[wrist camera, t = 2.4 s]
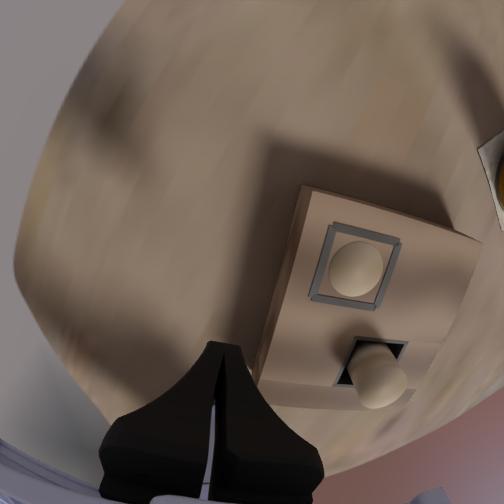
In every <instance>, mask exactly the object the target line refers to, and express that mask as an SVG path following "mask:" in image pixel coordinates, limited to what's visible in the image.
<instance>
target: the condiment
mask: <svg viewBox="0 0 504 504" xmlns="http://www.w3.org/2000/svg"><path fill="white" fill-rule="evenodd" d="M478 151H479V154H480V156H481V159H482V162H483V165H484V168H485V170H486V174H487V177H488V180H489V184H490V187H491V191H492V195H493V199H494V203H495V206H496V210H497V215H498V218H499V223H500V226H501V230H502V232H503V231H504V130H503V131H502V132H501V133H500V134H498V135H497V136H495V137H494V138H493V139H492V140H490V141H489V142H487V143H486V144H485V145H484V146H482V147H481V148H479V149H478ZM497 158H498V162H497ZM496 164H498V165H497V166H496Z"/></svg>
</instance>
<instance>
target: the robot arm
mask: <svg viewBox="0 0 504 504" xmlns="http://www.w3.org/2000/svg"><path fill="white" fill-rule="evenodd" d="M214 399H215V405H213V403H214ZM99 457H100V461H101V464H102V467H103V470H104V473H105V474H104V476H103V479H102V482H101V485H100V486H97V485H94V484H91V483H89V482H86V481H84V480H81V479H79V478H76V477H74V476H71V475H69V474H67V473H65V472H62V471H60V470H57V469H56V468H53V467H51V466H49V465H47V464H45V463H43V462H41V461H39V460H37V459H35V458H33V457H31V456H29V455H28V454H26V453H24V452H22V451H20V450H18V449H17V448H15V447H13V446H12V445H10V444H8V443H6V442H5V441H3V440H2V439H0V504H312V502H313V498H312V492H313V491H314V490H315V489H316V488H317V486H318V485H319V484H320V483H321V481H322V479H323V478H324V468H323V464H322V461H321V458H320V455H319V453H318V450H317V448H315V447H314V446H313V445H311V444H310V443H308V442H307V441H305V440H304V439H303V438H301V437H300V436H299V435H297V434H296V433H295V432H294V431H293V430H292V429H290V428H289V427H288V426H287V425H286V424H285V423H284V422H283V421H282V420H281V419H280V418H279V417H278V416H277V414H276V413H275V412H274V411H273V410H272V408H271V407H270V406H269V404H268V403H267V402H266V400H265V399H264V397H263V396H262V394H261V393H260V391H259V389H258V388H257V386H256V384H255V382H254V380H253V378H252V376H251V374H250V372H249V370H248V368H247V365H246V363H245V360H244V357H243V354H242V351H241V348H240V346H238V345H232V344H227V343H221V342H216V341H209V342H208V343H207V346H206V348H205V349H204V351H203V353H202V354H201V356H200V357H199V359H198V360H197V361H196V363H195V364H194V365H193V366H192V368H191V369H190V370H189V371H188V372H187V373H186V374H185V375H184V376H183V377H182V378H181V379H180V380H179V381H178V382H177V383H176V384H175V385H174V386H173V387H172V388H170V389H169V390H168V391H167V392H165V393H164V394H162V395H161V396H160V397H158V398H157V399H155V400H154V401H152V402H150V403H149V404H147V405H145V406H143V407H142V408H140V409H138V410H136V411H133V412H131V413H129V414H126V415H124V416H122V417H119V418H117V419H116V421H115V422H114V423H113V424H112V426H111V427H110V429H109V430H108V432H107V433H106V435H105V437H104V439H103V441H102V444H101V446H100V448H99ZM406 504H450V501H449V499H448V496H447V494H446V492H445V490H444V488H443V487H440V488H436V489H433V490H429V491H426V492H423V493H421V494H419V495H417V496H416V497H415V498H413V499H412V501H411V502H410V503H406Z"/></svg>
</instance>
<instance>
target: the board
mask: <svg viewBox="0 0 504 504" xmlns="http://www.w3.org/2000/svg"><path fill="white" fill-rule="evenodd" d="M482 246H483V243H482V242H480V241H478V240H475V239H473V238H471V237H469V236H467V235H465V234H463V233H461V232H459V231H456V230H454V229H451V228H448V227H446V226H443V225H440V224H437V223H434V222H431V221H428V220H425V219H422V218H419V217H416V216H413V215H410V214H407V213H403V212H400V211H397V210H394V209H391V208H387V207H384V206H381V205H377V204H374V203H370V202H367V201H363V200H360V199H356V198H353V197H349V196H346V195H342V194H338V193H334V192H331V191H327V190H323V189H319V188H315V187H311V186H307V185H303V184H301V186H300V191H299V195H298V199H297V203H296V207H295V211H294V215H293V219H292V223H291V227H290V231H289V235H288V239H287V243H286V247H285V251H284V255H283V259H282V262H281V266H280V270H279V274H278V278H277V281H276V285H275V289H274V293H273V296H272V300H271V304H270V307H269V311H268V315H267V318H266V322H265V326H264V329H263V333H262V336H261V340H260V343H259V347H258V351H257V354H256V358H255V361H254V364H253V368H252V378H253V380H254V382H255V384H256V386H257V388H258V389H259V391H260V393H261V394H262V396H263V397H264V399H265V400H266V402H267V403H268V404H269V405H277V406H287V407H299V408H312V409H331V410H402V409H404V408H405V406H406V405H407V403H408V401H409V400H410V398H411V397H412V395H413V394H414V392H415V390H416V389H417V387H418V386H419V384H420V382H421V381H422V379H423V377H424V376H425V374H426V372H427V370H428V369H429V367H430V365H431V363H432V362H433V360H434V358H435V356H436V354H437V352H438V350H439V349H440V347H441V345H442V343H443V341H444V339H445V337H446V335H447V333H448V331H449V329H450V327H451V324H452V322H453V320H454V318H455V316H456V314H457V311H458V309H459V307H460V305H461V302H462V300H463V297H464V295H465V293H466V290H467V288H468V285H469V283H470V280H471V277H472V275H473V272H474V269H475V267H476V264H477V261H478V258H479V255H480V252H481V249H482ZM357 340H366V341H376V342H385V343H386V344H387V346H388V347H389V349H390V351H391V352H392V354H393V355H394V357H395V358H396V360H397V362H398V363H399V365H400V366H401V368H402V370H403V371H404V373H405V374H406V376H407V379H408V384H407V387H406V389H405V391H404V392H403V394H402V395H401V396H400V397H399V398H398V399H397V400H395V401H394V402H393V403H391V404H389V405H387V406H385V407H381V408H376V409H370V408H366V407H364V406H363V405H362V404H361V402H360V400H359V397H358V395H357V392H356V390H355V387H354V385H353V383H352V380H351V378H350V375H349V373H348V370H347V368H346V363H347V361H348V359H349V357H350V355H351V352H352V350H353V348H354V346H355V343H356V341H357Z"/></svg>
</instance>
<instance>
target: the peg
mask: <svg viewBox="0 0 504 504" xmlns="http://www.w3.org/2000/svg"><path fill="white" fill-rule="evenodd" d="M346 368H347V370H348V373H349V375H350V378H351V380H352V383H353V385H354V387H355V390H356V392H357V395H358V397H359V400H360V402H361V404H362V405H363V406H364V407H366V408H370V409H376V408H381V407H385V406H387V405H389V404H391V403H393V402H394V401H395V400H397V399H398V398H399V397H400V396H401V395H402V394H403V392H404V391H405V389H406V387H407V384H408V379H407V376H406V374H405V373H404V371H403V370H402V368H401V366H400V365H399V363H398V362H397V360H396V358H395V357H394V355H393V354H392V352H391V351H390V349H389V347H388V346H387V344H386V343H385V342H376V341H366V340H363V341H361V342H359V343H357V344H356V345H355V346H354V348H353V350H352V352H351V355H350V357H349V359H348V361H347V363H346Z"/></svg>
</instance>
